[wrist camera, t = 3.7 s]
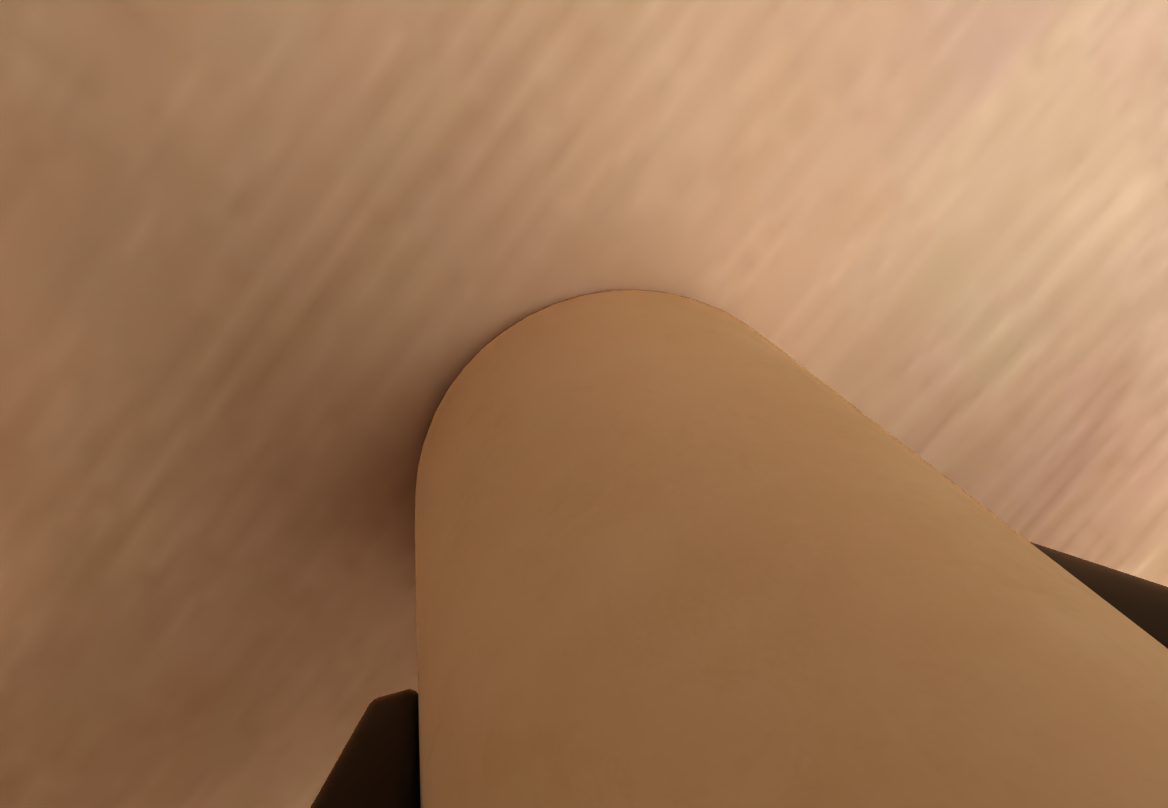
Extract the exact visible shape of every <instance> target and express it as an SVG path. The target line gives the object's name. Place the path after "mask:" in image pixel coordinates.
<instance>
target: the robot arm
mask: <svg viewBox="0 0 1168 808" xmlns="http://www.w3.org/2000/svg"><path fill="white" fill-rule="evenodd" d="M1030 543H1031V542H1030ZM1031 544H1033V545H1034V546H1035V547H1037V548H1038V549H1039V550H1040V551H1042V552H1043V553H1044V554H1046V555H1047V556H1048V557H1050V558H1051V559H1052V560H1053V561H1055V562H1056V563H1057V564H1059V565H1060V566H1061V567H1062V568H1064V569H1065V570H1066V571H1068V572H1069V573H1070V574H1072V575H1073V576H1074V577H1075V578H1077V579H1078V580H1079V581H1081V582H1082V583H1083V584H1084V585H1086V586H1087V587H1088V588H1090V589H1091V590H1092V591H1094V592H1095V593H1096V594H1097V595H1099V596H1100V597H1101V598H1103V599H1104V600H1105V601H1107V602H1108V603H1109V604H1110V605H1112V606H1113V607H1114V608H1116V609H1117V610H1118V611H1119V612H1121V613H1122V614H1123V615H1125V616H1126V617H1127V618H1129V619H1130V620H1131V621H1132V622H1134V623H1135V624H1136V625H1138V626H1139V627H1140V628H1141V629H1143V630H1144V631H1145V632H1147V633H1148V634H1149V635H1151V636H1152V637H1153V638H1154V639H1156V640H1157V641H1158V642H1160V643H1161V644H1162V645H1164V646H1165V647H1166V648H1167V649H1168V587H1166V586H1163V585H1160V584H1157V583H1154V582H1150V581H1147V580H1144V579H1141V578H1138V577H1135V576H1132V575H1129V574H1126V573H1123V572H1120V571H1117V570H1114V569H1111V568H1108V567H1105V566H1102V565H1099V564H1096V563H1093V562H1089V561H1086V560H1083V559H1080V558H1077V557H1074V556H1071V555H1068V554H1065V553H1062V552H1059V551H1056V550H1053V549H1050V548H1047V547H1044V546H1041V545H1038V544H1035V543H1031ZM311 808H421V802H420V754H419V706H418V693H417V692H416V691H414V690H412V689H407V690H403V691H400V692H396V693H392V694H389V695H385V696H381V697H378V698H376V699H374V700H373V701H372V702H371V703H370V704H369V706H368V707H367V709H366V711H365V712H364V714H363V716H362V718H361V720H360V721H359V723H358V725H357V727H356V728H355V730H354V732H353V734H352V735H351V737H350V739H349V741H348V742H347V744H346V746H345V748H344V749H343V751H342V753H341V755H340V757H339V758H338V760H337V762H336V764H335V765H334V767H333V769H332V771H331V772H330V774H329V776H328V778H327V779H326V781H325V783H324V785H323V786H322V788H321V790H320V792H319V794H318V795H317V797H316V799H315V801H314V802H313V804H312V806H311Z"/></svg>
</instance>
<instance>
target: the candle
mask: <svg viewBox="0 0 1168 808" xmlns="http://www.w3.org/2000/svg"><path fill="white" fill-rule="evenodd" d="M415 563H416V611H417V659H418V706H419V754H420V802H421V808H1168V649H1167V648H1166V647H1165V646H1164V645H1162V644H1161V643H1160V642H1158V641H1157V640H1156V639H1154V638H1153V637H1152V636H1151V635H1149V634H1148V633H1147V632H1145V631H1144V630H1143V629H1141V628H1140V627H1139V626H1138V625H1136V624H1135V623H1134V622H1132V621H1131V620H1130V619H1129V618H1127V617H1126V616H1125V615H1123V614H1122V613H1121V612H1119V611H1118V610H1117V609H1116V608H1114V607H1113V606H1112V605H1110V604H1109V603H1108V602H1107V601H1105V600H1104V599H1103V598H1101V597H1100V596H1099V595H1097V594H1096V593H1095V592H1094V591H1092V590H1091V589H1090V588H1088V587H1087V586H1086V585H1084V584H1083V583H1082V582H1081V581H1079V580H1078V579H1077V578H1075V577H1074V576H1073V575H1072V574H1070V573H1069V572H1068V571H1066V570H1065V569H1064V568H1062V567H1061V566H1060V565H1059V564H1057V563H1056V562H1055V561H1053V560H1052V559H1051V558H1050V557H1048V556H1047V555H1046V554H1044V553H1043V552H1042V551H1040V550H1039V549H1038V548H1037V547H1035V546H1034V545H1033V544H1031V543H1030V542H1029V541H1028V540H1026V539H1025V538H1024V537H1022V536H1021V535H1020V534H1018V533H1017V532H1016V531H1015V530H1013V529H1012V528H1011V527H1009V526H1008V525H1007V524H1005V523H1004V522H1003V521H1002V520H1000V519H999V518H998V517H996V516H995V515H994V514H993V513H991V512H990V511H989V510H987V509H986V508H985V507H983V506H982V505H981V504H980V503H978V502H977V501H976V500H974V499H973V498H972V497H971V496H969V495H968V494H967V493H965V492H964V491H963V490H961V489H960V488H959V487H958V486H956V485H955V484H954V483H952V482H951V481H950V480H948V479H947V478H946V477H945V476H943V475H942V474H941V473H939V472H938V471H937V470H936V469H934V468H933V467H932V466H930V465H929V464H928V463H926V462H925V461H924V460H923V459H921V458H920V457H919V456H917V455H916V454H915V453H914V452H912V451H911V450H910V449H908V448H907V447H906V446H904V445H903V444H902V443H901V442H899V441H898V440H897V439H895V438H894V437H893V436H892V435H890V434H889V433H888V432H886V431H885V430H884V429H882V428H881V427H880V426H879V425H877V424H876V423H875V422H873V421H872V420H871V419H869V418H868V417H867V416H866V415H864V414H863V413H862V412H860V411H859V410H858V409H857V408H855V407H854V406H853V405H851V404H850V403H849V402H847V401H846V400H845V399H844V398H842V397H841V396H840V395H838V394H837V393H836V392H835V391H833V390H832V389H831V388H829V387H828V386H827V385H825V384H824V383H823V382H822V381H820V380H819V379H818V378H816V377H815V376H814V375H812V374H811V373H810V372H809V371H807V370H806V369H805V368H803V367H802V366H801V365H800V364H798V363H797V362H796V361H794V360H793V359H792V358H790V357H789V356H788V355H787V354H785V353H784V352H783V351H781V350H780V349H779V348H778V347H776V346H775V345H774V344H772V343H771V342H770V341H768V340H767V339H765V338H764V337H763V336H761V335H760V334H758V333H757V332H756V331H754V330H753V329H751V328H750V327H749V326H747V325H746V324H744V323H743V322H741V321H739V320H738V319H736V318H734V317H732V316H731V315H729V314H727V313H725V312H724V311H722V310H719V309H717V308H714V307H712V306H709V305H707V304H704V303H701V302H699V301H696V300H693V299H690V298H686V297H682V296H677V295H673V294H669V293H664V292H656V291H645V290H617V291H605V292H600V293H594V294H588V295H582V296H579V297H576V298H572V299H569V300H566V301H563V302H559V303H556V304H554V305H551V306H549V307H547V308H545V309H542V310H540V311H538V312H536V313H534V314H531V315H529V316H528V317H526V318H524V319H523V320H521V321H519V322H518V323H516V324H515V325H513V326H511V327H510V328H508V329H506V330H505V331H504V332H502V333H501V334H500V335H499V336H497V337H496V338H495V339H494V340H492V341H491V342H490V343H489V344H487V345H486V346H485V347H484V348H483V349H482V350H481V351H480V352H479V353H478V354H477V355H476V356H475V357H474V358H473V359H472V360H471V361H470V362H469V363H468V364H467V365H466V366H465V367H464V368H463V370H462V371H461V372H460V374H459V375H458V376H457V378H456V379H455V381H454V382H453V383H452V385H451V386H450V387H449V389H448V390H447V392H446V394H445V396H444V397H443V399H442V401H441V403H440V405H439V407H438V408H437V410H436V412H435V415H434V417H433V420H432V422H431V425H430V428H429V430H428V433H427V436H426V438H425V441H424V444H423V447H422V452H421V456H420V461H419V465H418V470H417V481H416V495H415Z"/></svg>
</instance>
